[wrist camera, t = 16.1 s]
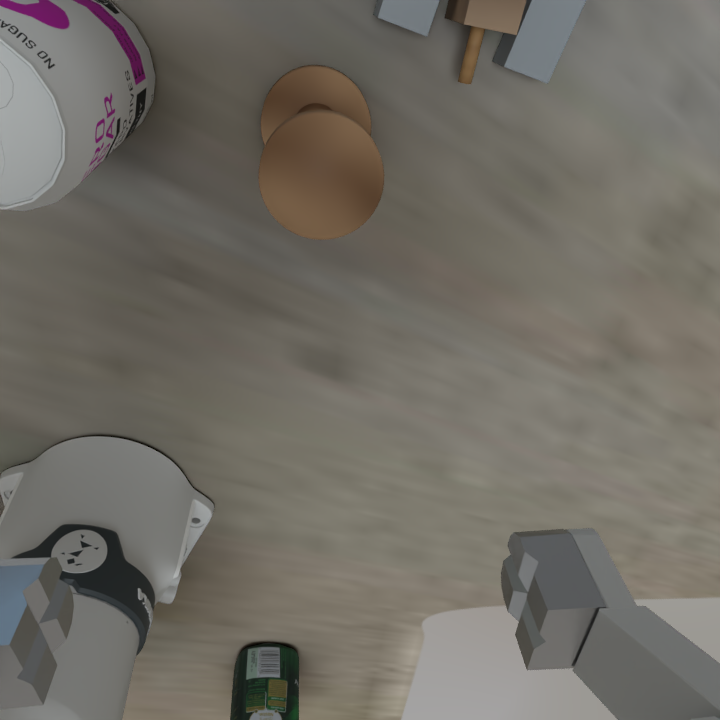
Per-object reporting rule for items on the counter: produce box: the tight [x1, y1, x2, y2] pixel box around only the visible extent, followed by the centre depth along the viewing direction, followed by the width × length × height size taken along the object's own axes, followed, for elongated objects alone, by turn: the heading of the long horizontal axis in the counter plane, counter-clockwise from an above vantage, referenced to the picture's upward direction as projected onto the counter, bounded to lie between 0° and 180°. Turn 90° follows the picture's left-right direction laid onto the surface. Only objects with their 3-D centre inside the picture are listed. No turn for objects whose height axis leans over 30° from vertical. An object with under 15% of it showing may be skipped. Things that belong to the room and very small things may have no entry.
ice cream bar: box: [445, 0, 526, 84], centre depth 33 cm, size 8×3×5 cm, turn 170°
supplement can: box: [0, 0, 156, 211], centre depth 29 cm, size 8×8×15 cm
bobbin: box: [259, 65, 384, 240], centre depth 33 cm, size 7×7×12 cm
